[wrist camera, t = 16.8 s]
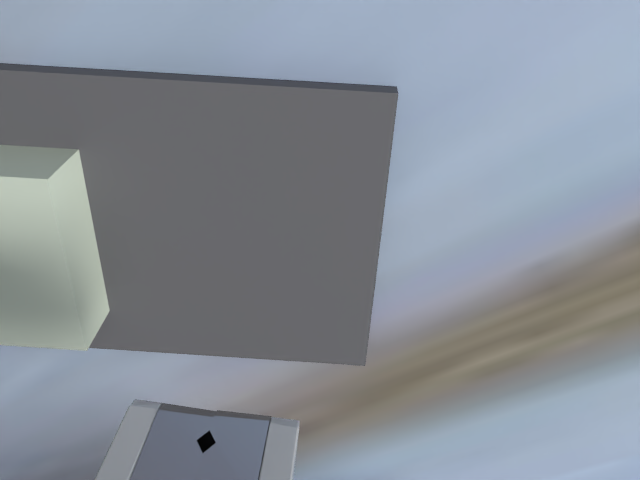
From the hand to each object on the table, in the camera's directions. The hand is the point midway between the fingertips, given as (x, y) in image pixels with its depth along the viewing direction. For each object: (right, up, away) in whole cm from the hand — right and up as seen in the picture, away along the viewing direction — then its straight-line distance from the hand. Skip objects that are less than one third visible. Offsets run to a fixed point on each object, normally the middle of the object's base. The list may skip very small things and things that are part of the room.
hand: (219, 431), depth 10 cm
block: (-5, +3, +7) cm, 9 cm away
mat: (-3, +4, +8) cm, 10 cm away
